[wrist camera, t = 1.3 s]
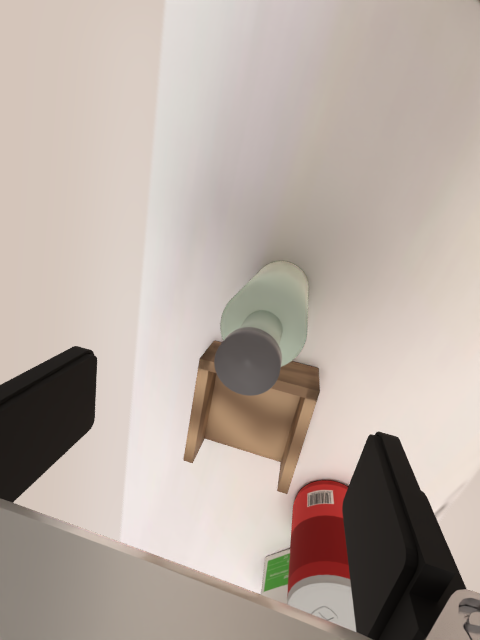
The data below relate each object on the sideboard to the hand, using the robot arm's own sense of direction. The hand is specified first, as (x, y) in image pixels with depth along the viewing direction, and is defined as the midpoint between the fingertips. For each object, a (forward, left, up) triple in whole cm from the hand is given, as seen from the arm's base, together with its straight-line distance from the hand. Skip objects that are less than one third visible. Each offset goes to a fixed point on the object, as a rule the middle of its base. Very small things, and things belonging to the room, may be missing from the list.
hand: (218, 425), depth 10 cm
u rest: (+13, 0, -21) cm, 25 cm away
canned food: (+23, +11, -21) cm, 33 cm away
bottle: (0, 0, -21) cm, 21 cm away
